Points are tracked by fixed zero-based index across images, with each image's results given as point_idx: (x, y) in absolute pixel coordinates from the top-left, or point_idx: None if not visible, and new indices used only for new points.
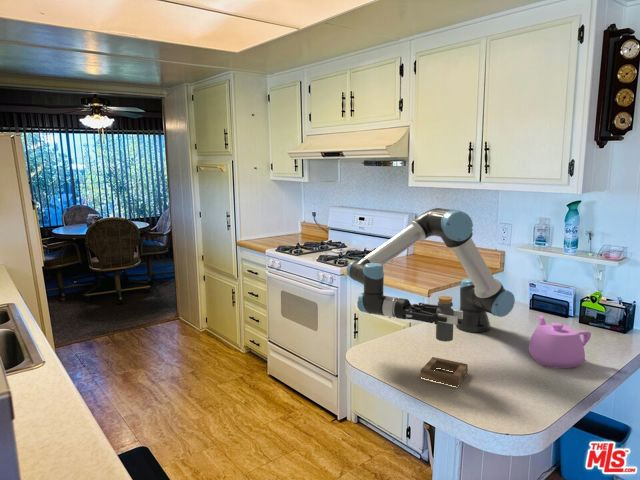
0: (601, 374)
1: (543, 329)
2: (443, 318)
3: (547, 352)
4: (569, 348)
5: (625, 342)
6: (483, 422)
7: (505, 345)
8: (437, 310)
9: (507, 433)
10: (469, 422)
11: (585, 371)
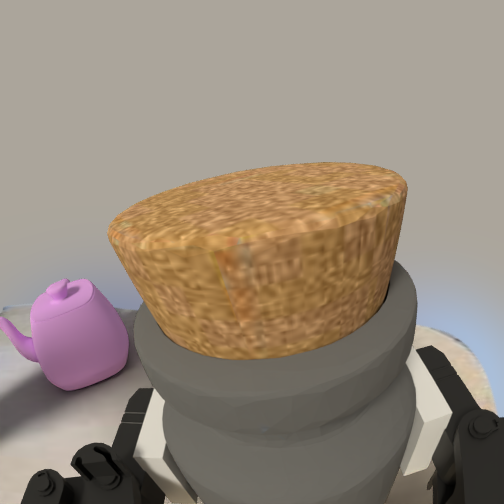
0: (133, 315)
1: (56, 312)
2: (446, 364)
3: (115, 335)
4: (110, 303)
5: (27, 309)
6: (465, 375)
7: (13, 437)
8: (397, 444)
9: (455, 340)
10: (489, 387)
11: (126, 328)
